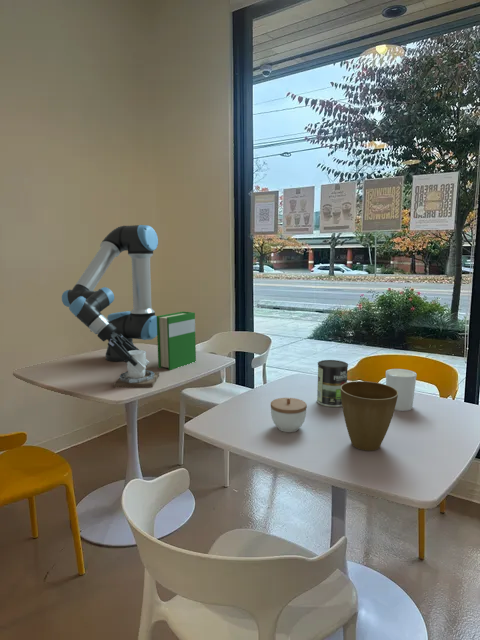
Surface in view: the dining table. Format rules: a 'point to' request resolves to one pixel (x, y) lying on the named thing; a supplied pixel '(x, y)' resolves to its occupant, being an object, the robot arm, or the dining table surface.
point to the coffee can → (331, 382)
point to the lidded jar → (288, 413)
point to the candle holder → (402, 387)
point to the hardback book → (176, 339)
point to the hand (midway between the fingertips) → (145, 367)
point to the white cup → (141, 357)
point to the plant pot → (367, 412)
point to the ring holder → (137, 380)
